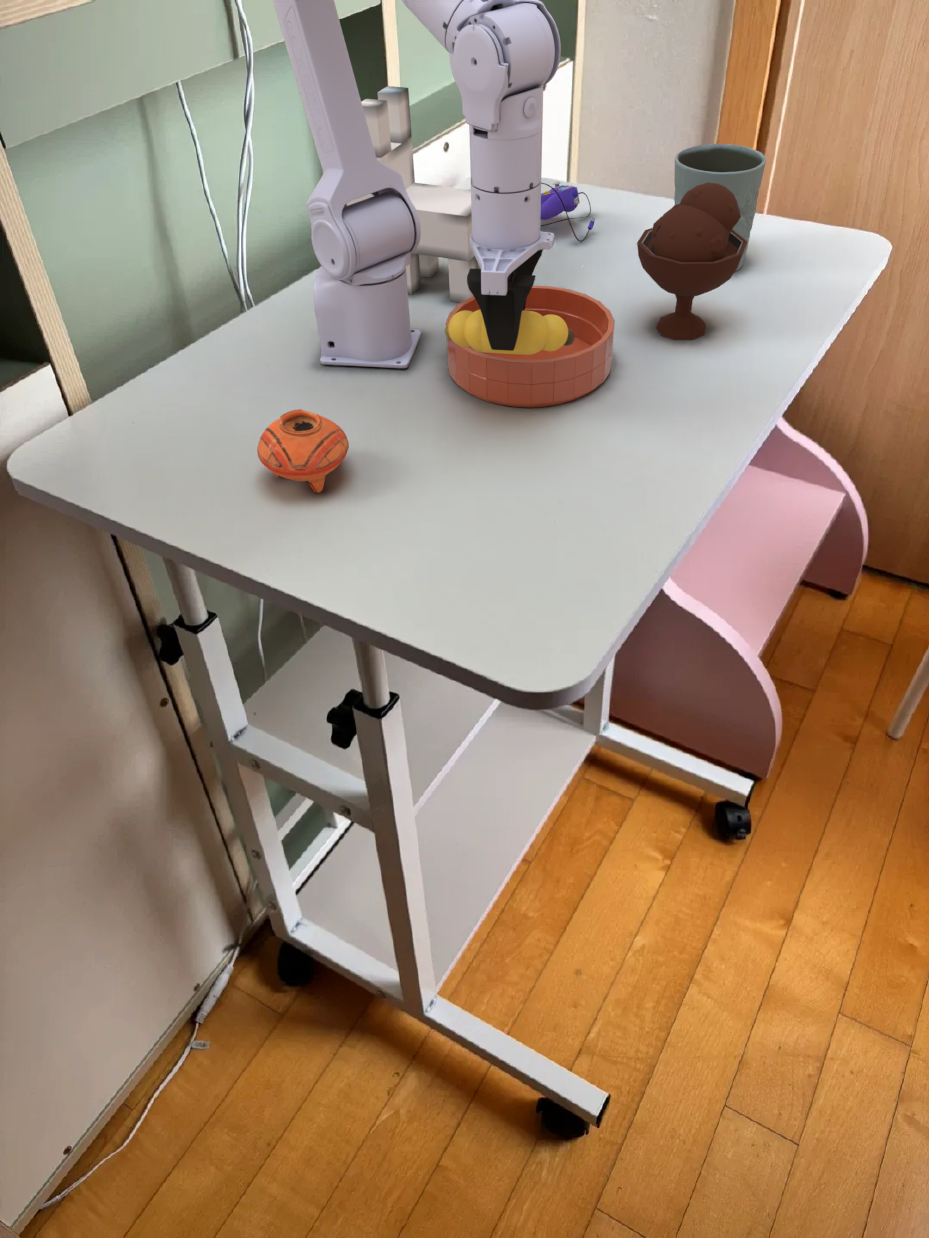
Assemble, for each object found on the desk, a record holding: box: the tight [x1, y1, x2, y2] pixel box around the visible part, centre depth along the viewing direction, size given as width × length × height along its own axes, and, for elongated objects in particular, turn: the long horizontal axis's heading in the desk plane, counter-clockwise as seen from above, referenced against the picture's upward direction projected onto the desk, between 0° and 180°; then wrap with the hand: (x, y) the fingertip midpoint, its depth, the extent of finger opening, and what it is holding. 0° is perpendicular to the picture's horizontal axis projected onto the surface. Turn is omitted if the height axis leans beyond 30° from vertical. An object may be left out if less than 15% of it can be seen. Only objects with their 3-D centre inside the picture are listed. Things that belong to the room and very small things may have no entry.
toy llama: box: [345, 85, 481, 304], centre depth 108 cm, size 8×18×20 cm, turn 66°
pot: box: [256, 408, 350, 494], centre depth 84 cm, size 8×8×7 cm
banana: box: [444, 310, 575, 355], centre depth 87 cm, size 12×4×4 cm, turn 80°
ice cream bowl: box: [636, 182, 747, 341], centre depth 99 cm, size 11×11×15 cm
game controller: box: [540, 181, 596, 242], centre depth 124 cm, size 10×8×10 cm
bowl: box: [445, 284, 615, 408], centre depth 98 cm, size 17×17×5 cm
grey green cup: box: [673, 143, 767, 273], centre depth 113 cm, size 10×10×12 cm
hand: (506, 337), depth 87 cm, fingers closed on banana, 4 cm apart
